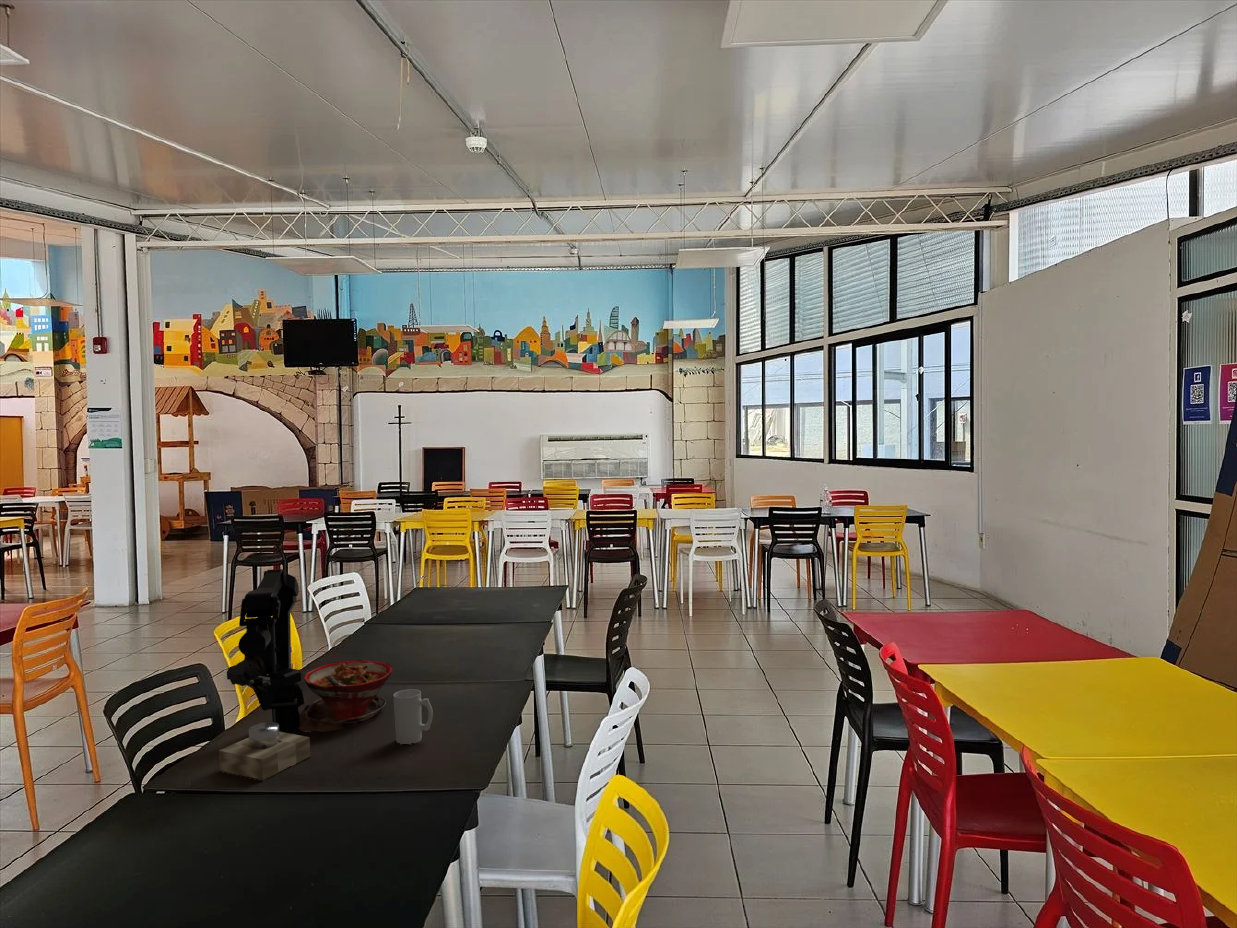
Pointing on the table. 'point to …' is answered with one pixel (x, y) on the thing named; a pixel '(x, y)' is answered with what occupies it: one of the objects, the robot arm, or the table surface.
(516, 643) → the table surface
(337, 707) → the stew
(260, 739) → the pin
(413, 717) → the mug
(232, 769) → the hitch block
